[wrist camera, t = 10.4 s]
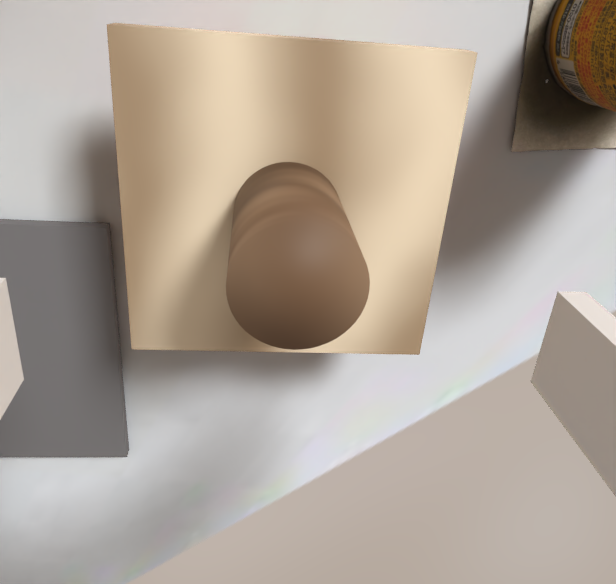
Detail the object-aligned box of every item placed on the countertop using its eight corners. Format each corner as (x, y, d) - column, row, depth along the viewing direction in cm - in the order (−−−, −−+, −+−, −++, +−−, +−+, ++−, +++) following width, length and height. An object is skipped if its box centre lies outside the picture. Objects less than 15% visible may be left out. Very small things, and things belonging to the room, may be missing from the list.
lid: (136, 334, 24) (95, 453, 18) (115, 23, 19) (44, 37, 13) (412, 339, 26) (464, 453, 19) (465, 49, 20) (562, 74, 14)
